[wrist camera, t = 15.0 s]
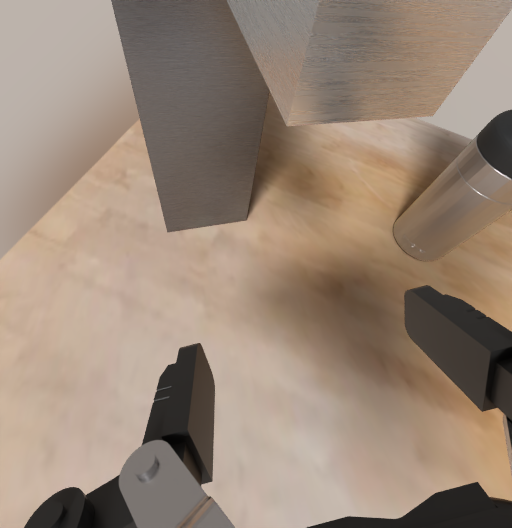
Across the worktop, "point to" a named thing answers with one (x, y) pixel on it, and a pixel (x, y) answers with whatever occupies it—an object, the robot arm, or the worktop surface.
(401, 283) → the worktop surface
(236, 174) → the gray grooved tower
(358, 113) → the brushed metal block
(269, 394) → the worktop surface
